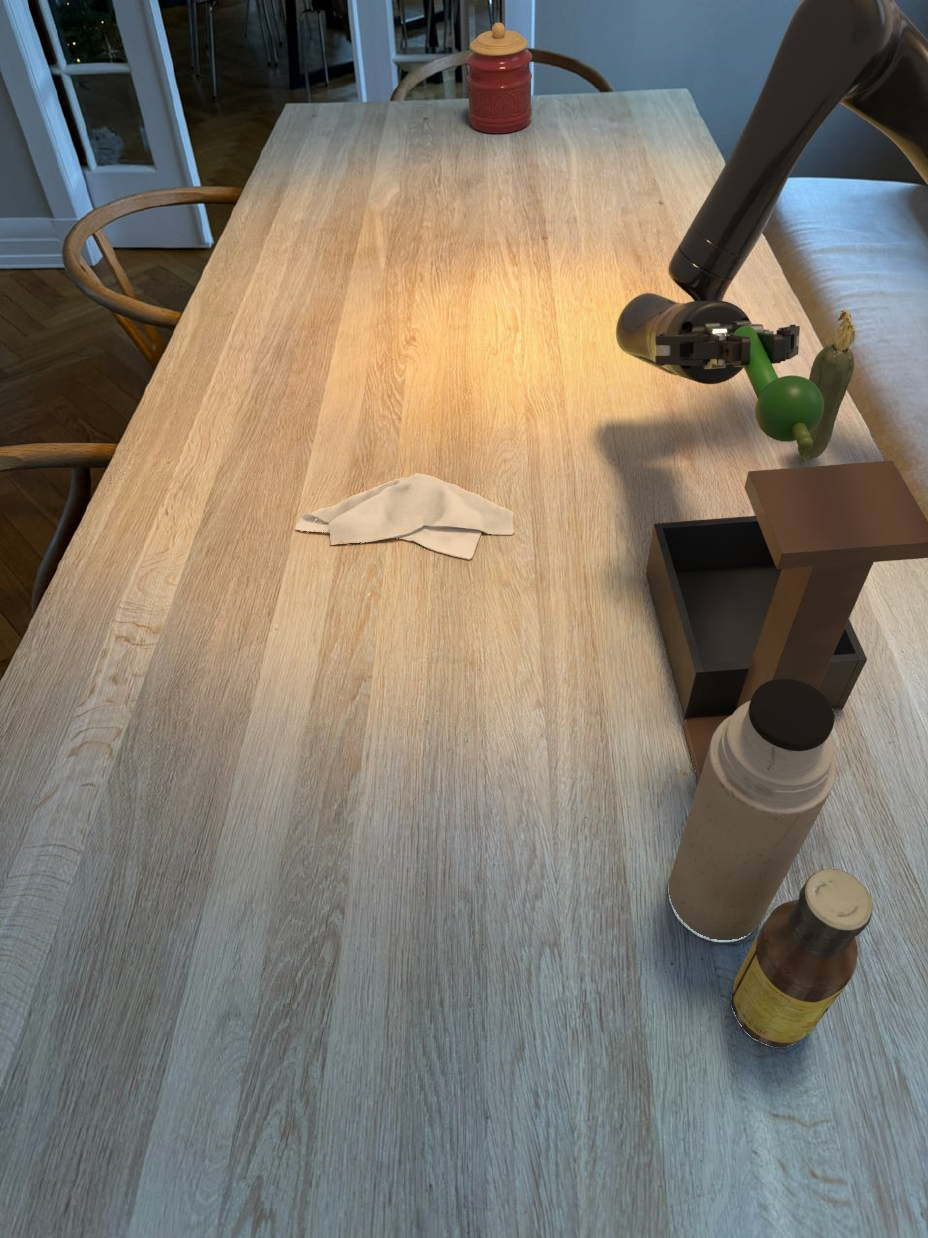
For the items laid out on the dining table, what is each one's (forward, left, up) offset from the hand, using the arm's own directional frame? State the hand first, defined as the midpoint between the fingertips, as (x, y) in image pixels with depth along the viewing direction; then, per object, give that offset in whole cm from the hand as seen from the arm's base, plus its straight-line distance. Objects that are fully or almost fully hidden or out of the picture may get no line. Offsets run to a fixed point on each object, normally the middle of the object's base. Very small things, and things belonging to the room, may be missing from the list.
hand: (762, 350), depth 70 cm
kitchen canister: (+10, -135, -32) cm, 139 cm away
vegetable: (-18, -23, -32) cm, 43 cm away
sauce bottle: (+4, +40, -32) cm, 52 cm away
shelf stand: (0, +18, -32) cm, 37 cm away
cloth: (+31, -19, -32) cm, 48 cm away
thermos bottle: (+6, +31, -32) cm, 45 cm away
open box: (-3, +4, -32) cm, 32 cm away
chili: (0, +3, -2) cm, 4 cm away
